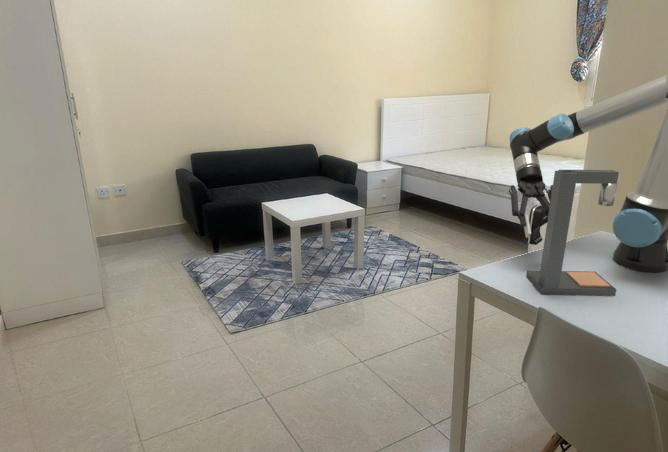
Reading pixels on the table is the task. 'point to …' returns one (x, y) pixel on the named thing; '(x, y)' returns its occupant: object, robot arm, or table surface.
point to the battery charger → (537, 223)
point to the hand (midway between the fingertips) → (541, 235)
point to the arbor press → (560, 208)
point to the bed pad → (588, 279)
